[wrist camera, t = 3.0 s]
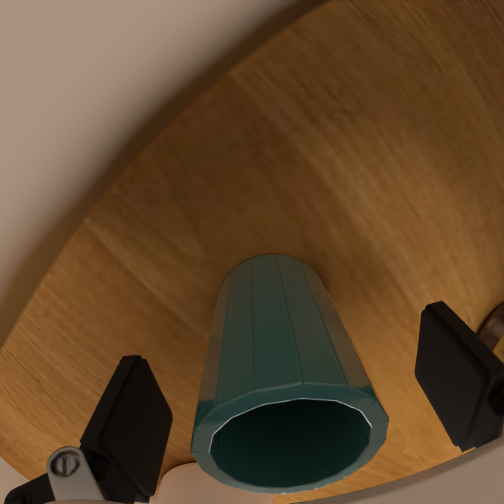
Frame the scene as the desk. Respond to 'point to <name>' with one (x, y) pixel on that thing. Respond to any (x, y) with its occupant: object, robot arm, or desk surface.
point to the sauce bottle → (495, 333)
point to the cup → (283, 385)
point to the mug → (201, 489)
